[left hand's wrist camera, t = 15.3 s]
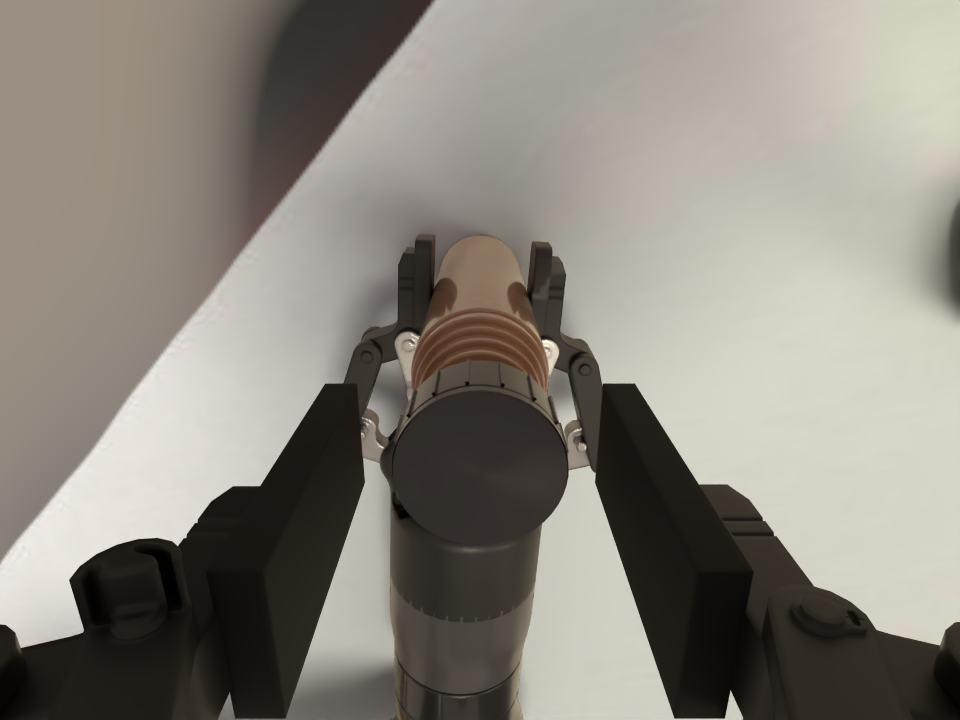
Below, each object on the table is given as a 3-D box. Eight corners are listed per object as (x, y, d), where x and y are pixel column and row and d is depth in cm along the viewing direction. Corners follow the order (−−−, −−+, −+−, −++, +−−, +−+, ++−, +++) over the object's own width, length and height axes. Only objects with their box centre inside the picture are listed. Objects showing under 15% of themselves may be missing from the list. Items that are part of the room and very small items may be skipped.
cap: (588, 398, 14) (603, 434, 12) (515, 521, 16) (519, 570, 14) (440, 331, 14) (434, 360, 12) (376, 464, 15) (362, 509, 13)
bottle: (464, 326, 33) (445, 564, 14) (425, 259, 31) (349, 426, 13) (533, 290, 32) (605, 492, 14) (496, 219, 31) (520, 338, 12)
